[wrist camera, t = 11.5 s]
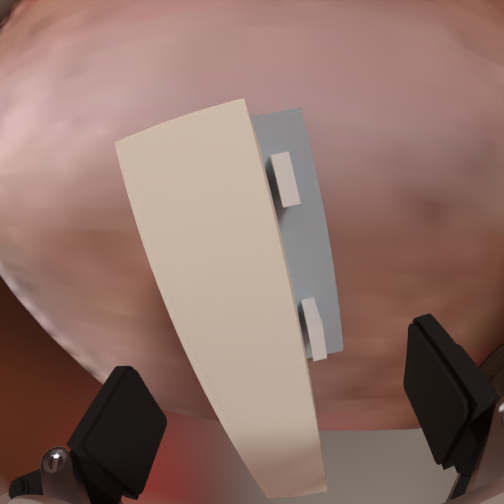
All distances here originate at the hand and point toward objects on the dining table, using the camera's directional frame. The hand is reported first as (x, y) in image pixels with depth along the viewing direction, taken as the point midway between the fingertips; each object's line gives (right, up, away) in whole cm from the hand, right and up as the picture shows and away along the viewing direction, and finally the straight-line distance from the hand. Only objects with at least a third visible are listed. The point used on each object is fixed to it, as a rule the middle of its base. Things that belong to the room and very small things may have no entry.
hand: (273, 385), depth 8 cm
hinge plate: (0, +4, +14) cm, 15 cm away
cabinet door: (0, +4, +12) cm, 13 cm away
